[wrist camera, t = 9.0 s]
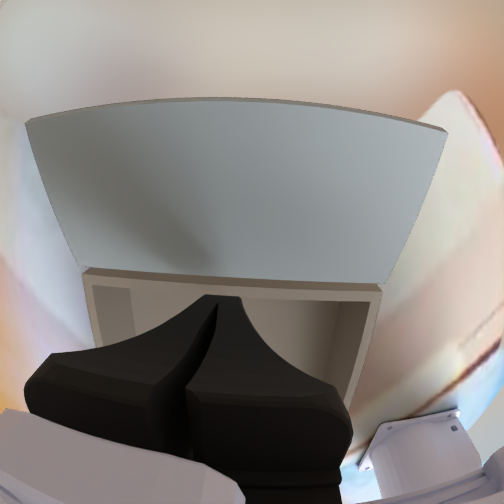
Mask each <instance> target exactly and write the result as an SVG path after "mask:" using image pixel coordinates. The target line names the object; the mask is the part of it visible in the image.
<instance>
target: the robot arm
mask: <svg viewBox="0 0 504 504" xmlns="http://www.w3.org/2000/svg"><path fill="white" fill-rule="evenodd" d="M24 397H25V402H26V404H27V407H28V409H29V411H30V413H28V412H23V411H19V410H14V409H8V408H6V409H5V410H4V411H3V413H2V414H1V415H0V504H342V500H341V495H340V489H339V484H340V483H341V481H342V477H341V472H340V465H341V463H342V461H343V459H344V457H345V455H346V453H347V451H348V449H349V446H350V444H351V441H352V437H353V428H352V424H351V420H350V417H349V414H348V411H347V409H346V407H345V405H344V403H343V401H342V399H341V397H340V395H339V393H338V391H337V389H336V387H335V386H333V385H331V384H328V383H326V382H324V381H321V380H319V379H317V378H314V377H312V376H310V375H308V374H306V373H305V372H303V371H301V370H299V369H298V368H296V367H294V366H293V365H291V364H290V363H288V362H287V361H286V360H284V359H283V358H282V357H281V356H279V355H278V354H277V353H276V352H274V351H273V350H272V349H271V348H270V347H269V346H268V344H267V343H266V342H265V341H264V340H263V339H262V337H261V336H260V335H259V333H258V332H257V331H256V329H255V328H254V326H253V325H252V323H251V321H250V319H249V318H248V316H247V314H246V312H245V309H244V307H243V304H242V299H241V298H240V297H239V296H225V295H211V294H204V295H203V296H202V297H200V298H199V299H198V300H196V301H195V302H194V303H192V304H191V305H190V306H188V307H187V308H186V309H184V310H183V311H181V312H180V313H179V314H177V315H175V316H174V317H172V318H171V319H169V320H167V321H166V322H164V323H163V324H161V325H159V326H157V327H155V328H153V329H151V330H149V331H147V332H145V333H143V334H140V335H138V336H135V337H132V338H129V339H127V340H124V341H121V342H118V343H115V344H111V345H107V346H103V347H98V348H94V349H88V350H82V351H73V352H63V353H51V354H50V356H49V357H48V358H47V359H46V360H45V361H44V362H43V363H42V364H41V366H40V367H39V368H38V369H37V370H36V371H35V372H34V374H33V375H32V376H31V377H30V378H29V379H28V381H27V382H26V384H25V387H24ZM459 414H460V410H459V409H455V410H450V411H446V412H442V413H437V414H433V415H428V416H423V417H418V418H412V419H407V420H401V421H394V422H387V423H383V424H381V425H380V426H379V428H378V430H377V432H376V434H375V436H374V438H373V440H372V442H371V444H370V446H369V448H368V449H367V451H366V453H365V455H364V457H363V459H362V460H361V462H360V464H359V466H358V471H366V470H373V469H374V471H375V475H376V478H377V482H378V485H379V488H380V492H381V495H382V499H380V500H375V501H369V502H364V503H357V504H504V446H503V447H502V448H500V449H499V450H497V451H496V452H495V453H493V455H492V456H491V457H490V458H489V459H488V460H487V461H486V463H485V464H484V466H483V467H482V464H481V459H480V455H479V453H478V451H477V450H476V448H475V446H474V444H473V443H472V441H471V439H470V438H469V436H468V434H467V433H466V431H465V429H464V428H463V426H462V424H461V423H460V421H459V419H458V418H457V417H458V416H459Z"/></svg>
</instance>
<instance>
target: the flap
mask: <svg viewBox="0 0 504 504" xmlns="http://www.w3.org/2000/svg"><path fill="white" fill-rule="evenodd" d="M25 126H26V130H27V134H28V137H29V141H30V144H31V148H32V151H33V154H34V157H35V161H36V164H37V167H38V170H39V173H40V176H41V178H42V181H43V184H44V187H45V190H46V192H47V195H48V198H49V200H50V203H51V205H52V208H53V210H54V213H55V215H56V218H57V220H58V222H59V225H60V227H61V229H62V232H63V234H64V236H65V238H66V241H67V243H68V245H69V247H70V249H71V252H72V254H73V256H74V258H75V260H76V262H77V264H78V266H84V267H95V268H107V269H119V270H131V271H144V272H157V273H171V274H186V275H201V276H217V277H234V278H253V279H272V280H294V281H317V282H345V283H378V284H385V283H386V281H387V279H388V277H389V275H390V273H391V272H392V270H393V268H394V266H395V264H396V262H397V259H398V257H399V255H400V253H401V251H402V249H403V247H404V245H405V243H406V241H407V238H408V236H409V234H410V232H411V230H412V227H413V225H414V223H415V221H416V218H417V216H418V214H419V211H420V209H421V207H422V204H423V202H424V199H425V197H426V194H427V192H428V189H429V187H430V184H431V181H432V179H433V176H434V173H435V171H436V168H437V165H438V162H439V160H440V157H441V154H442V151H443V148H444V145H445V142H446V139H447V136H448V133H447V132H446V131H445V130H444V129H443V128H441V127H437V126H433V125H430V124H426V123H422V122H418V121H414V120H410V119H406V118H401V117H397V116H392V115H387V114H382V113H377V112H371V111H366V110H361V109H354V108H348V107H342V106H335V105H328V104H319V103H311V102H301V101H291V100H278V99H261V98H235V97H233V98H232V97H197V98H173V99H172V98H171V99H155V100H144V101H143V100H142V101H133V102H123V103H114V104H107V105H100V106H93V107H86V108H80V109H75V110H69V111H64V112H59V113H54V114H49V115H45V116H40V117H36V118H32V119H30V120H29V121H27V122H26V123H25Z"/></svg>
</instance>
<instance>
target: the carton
mask: <svg viewBox="0 0 504 504" xmlns="http://www.w3.org/2000/svg"><path fill="white" fill-rule="evenodd" d="M82 278H83V284H84V290H85V296H86V302H87V307H88V313H89V318H90V323H91V327H92V332H93V336H94V341H95V345H96V348H98V347H103V346H107V345H111V344H115V343H118V342H121V341H124V340H127V339H129V338H132V337H135V336H138V335H140V334H143V333H145V332H147V331H149V330H151V329H153V328H155V327H157V326H159V325H161V324H163V323H164V322H166V321H167V320H169V319H171V318H172V317H174V316H175V315H177V314H179V313H180V312H181V311H183V310H184V309H186V308H187V307H188V306H190V305H191V304H192V303H194V302H195V301H196V300H198V299H199V298H200V297H202V296H203V295H204V294H211V295H225V296H239V297H240V298H241V299H242V304H243V307H244V309H245V312H246V314H247V316H248V318H249V319H250V321H251V323H252V325H253V326H254V328H255V329H256V331H257V332H258V333H259V335H260V336H261V337H262V339H263V340H264V341H265V342H266V343H267V344H268V346H269V347H270V348H271V349H272V350H273V351H274V352H276V353H277V354H278V355H279V356H281V357H282V358H283V359H284V360H286V361H287V362H288V363H290V364H291V365H293V366H294V367H296V368H298V369H299V370H301V371H303V372H305V373H306V374H308V375H310V376H312V377H314V378H317V379H319V380H321V381H324V382H326V383H328V384H331V385H333V386H335V387H336V389H337V391H338V393H339V395H340V397H341V399H342V401H343V403H344V405H345V407H346V409H347V411H348V410H349V408H350V405H351V402H352V399H353V396H354V393H355V390H356V387H357V384H358V381H359V378H360V375H361V372H362V368H363V365H364V362H365V358H366V355H367V352H368V348H369V344H370V341H371V337H372V333H373V330H374V326H375V322H376V318H377V314H378V309H379V305H380V301H381V296H382V290H381V289H380V288H379V287H378V286H377V285H376V283H345V282H317V281H294V280H272V279H253V278H234V277H217V276H201V275H186V274H171V273H157V272H144V271H131V270H119V269H107V268H95V267H91V268H89V269H88V270H87V271H85V272H84V273H83V274H82Z"/></svg>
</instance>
